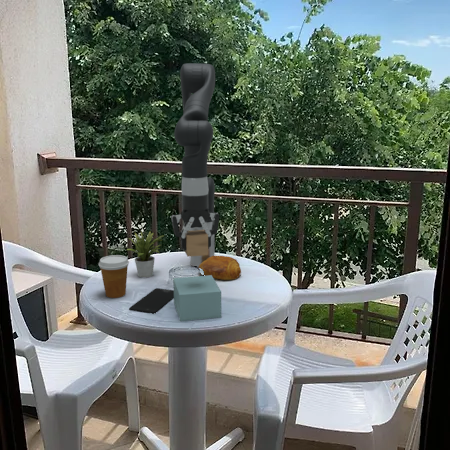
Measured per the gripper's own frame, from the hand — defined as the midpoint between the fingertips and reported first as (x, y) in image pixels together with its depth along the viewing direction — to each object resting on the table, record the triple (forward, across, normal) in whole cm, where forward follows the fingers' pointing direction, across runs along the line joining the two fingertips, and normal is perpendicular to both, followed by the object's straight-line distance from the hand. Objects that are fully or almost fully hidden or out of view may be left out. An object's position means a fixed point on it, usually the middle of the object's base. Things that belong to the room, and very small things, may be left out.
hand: (195, 248), depth 148 cm
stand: (+19, 0, 0) cm, 19 cm away
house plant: (+19, +12, -33) cm, 40 cm away
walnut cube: (+1, 0, 0) cm, 1 cm away
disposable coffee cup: (+19, +24, -18) cm, 35 cm away
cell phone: (+20, +12, -10) cm, 25 cm away
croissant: (+19, -14, -29) cm, 38 cm away
